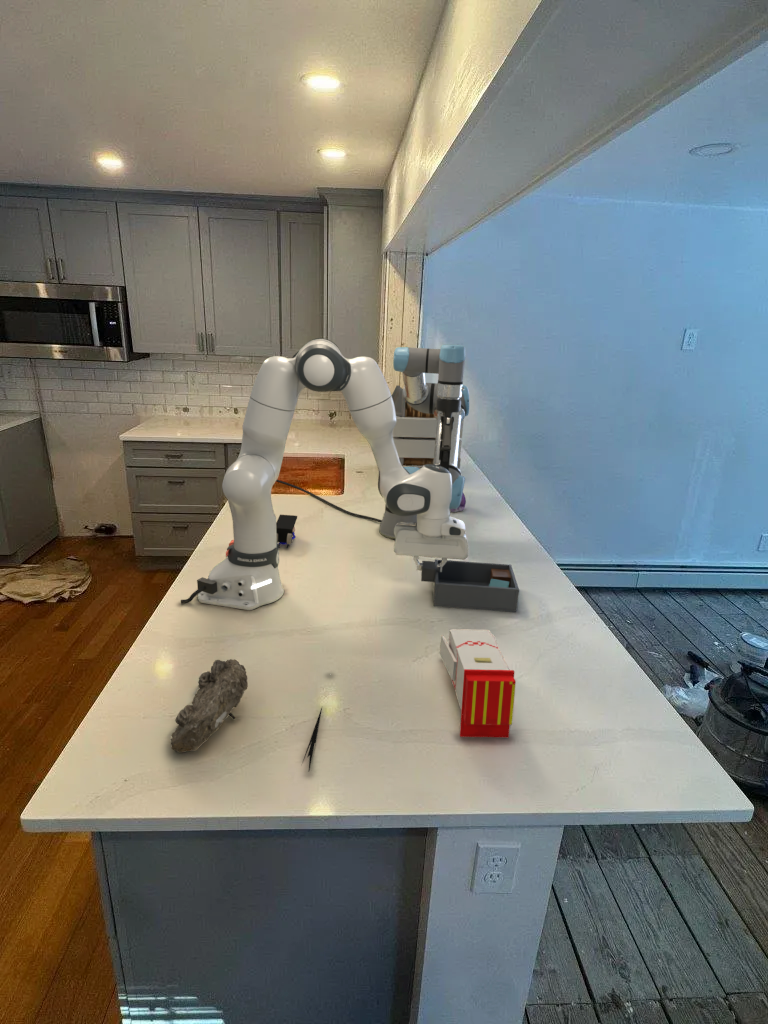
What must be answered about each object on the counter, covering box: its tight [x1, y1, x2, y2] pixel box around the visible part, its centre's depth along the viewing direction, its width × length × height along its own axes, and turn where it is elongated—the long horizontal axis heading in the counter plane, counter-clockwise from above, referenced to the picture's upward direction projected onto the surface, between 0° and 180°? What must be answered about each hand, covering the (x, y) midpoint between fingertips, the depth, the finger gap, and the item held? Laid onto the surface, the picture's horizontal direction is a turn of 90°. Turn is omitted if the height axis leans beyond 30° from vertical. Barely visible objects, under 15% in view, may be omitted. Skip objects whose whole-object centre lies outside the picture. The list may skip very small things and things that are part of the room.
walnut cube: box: [489, 569, 511, 588], centre depth 161 cm, size 5×5×5 cm
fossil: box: [170, 658, 249, 753], centre depth 106 cm, size 22×10×15 cm
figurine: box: [449, 492, 467, 513], centre depth 225 cm, size 9×10×15 cm
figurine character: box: [276, 514, 298, 549], centre depth 187 cm, size 7×8×15 cm
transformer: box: [391, 384, 465, 471], centre depth 268 cm, size 34×33×41 cm
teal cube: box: [489, 579, 509, 588], centre depth 154 cm, size 5×5×5 cm
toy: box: [438, 628, 517, 738], centre depth 117 cm, size 12×13×30 cm
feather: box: [301, 673, 332, 771], centre depth 108 cm, size 2×28×2 cm
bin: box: [420, 558, 520, 613], centre depth 158 cm, size 26×16×8 cm, turn 86°
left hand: (429, 570), depth 157 cm, fingers closed on bin, 4 cm apart
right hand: (443, 465), depth 179 cm, fingers open, 13 cm apart
